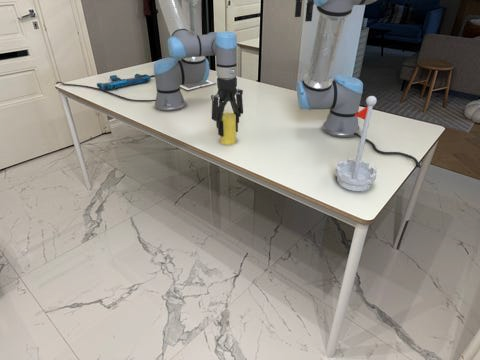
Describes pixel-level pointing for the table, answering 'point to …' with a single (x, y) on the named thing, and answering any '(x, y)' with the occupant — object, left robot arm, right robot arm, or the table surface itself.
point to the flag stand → (358, 159)
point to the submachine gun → (123, 81)
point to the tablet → (196, 85)
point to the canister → (229, 128)
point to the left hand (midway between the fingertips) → (228, 133)
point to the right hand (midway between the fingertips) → (302, 19)
